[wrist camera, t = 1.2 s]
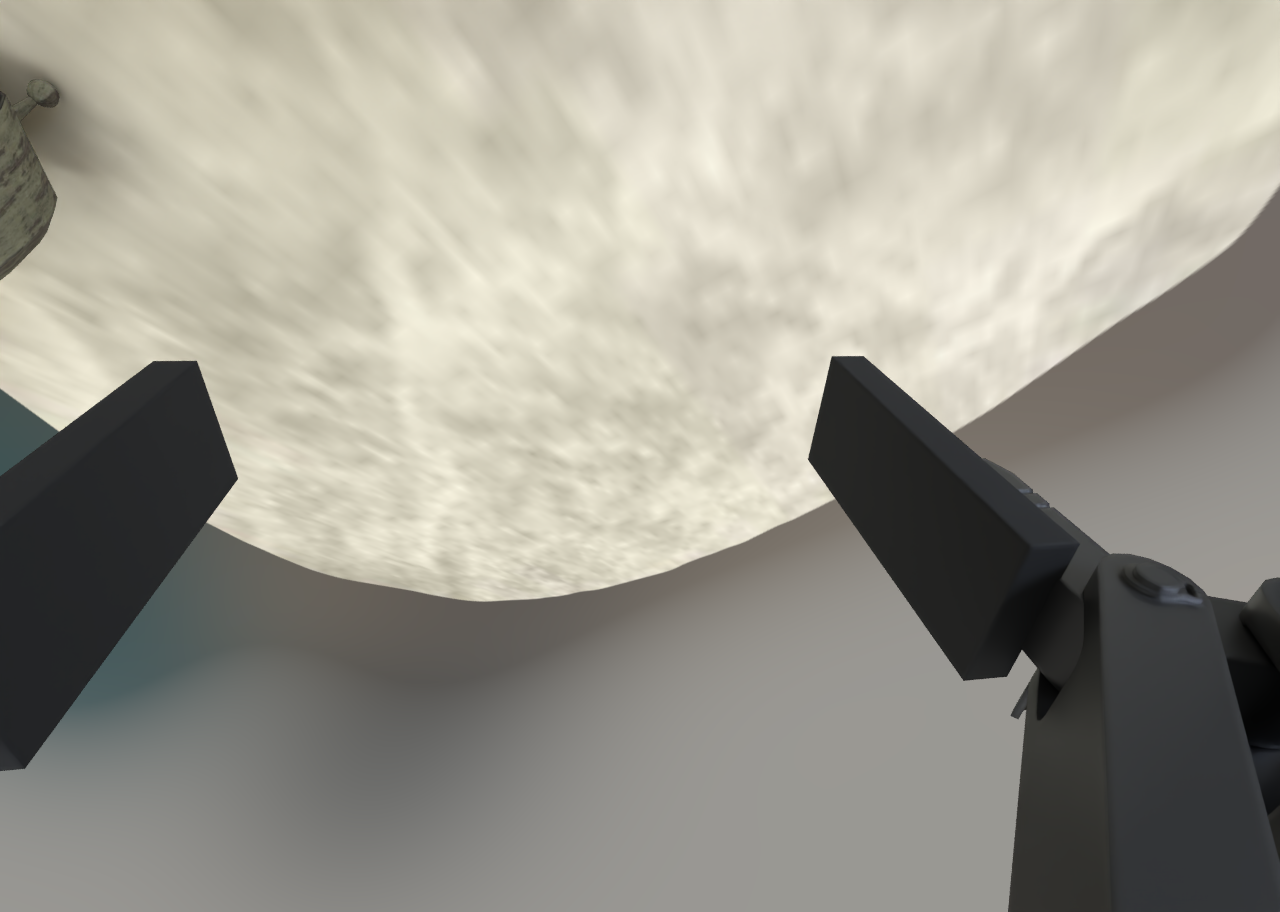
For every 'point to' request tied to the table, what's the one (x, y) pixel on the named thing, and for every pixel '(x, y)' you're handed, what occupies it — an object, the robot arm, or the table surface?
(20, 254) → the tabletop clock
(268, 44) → the table surface
